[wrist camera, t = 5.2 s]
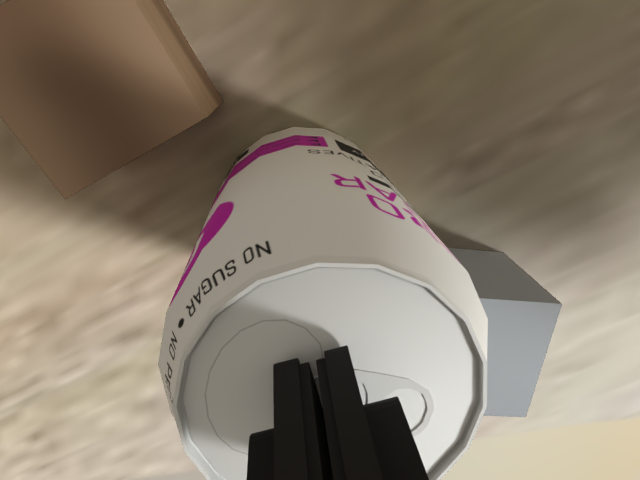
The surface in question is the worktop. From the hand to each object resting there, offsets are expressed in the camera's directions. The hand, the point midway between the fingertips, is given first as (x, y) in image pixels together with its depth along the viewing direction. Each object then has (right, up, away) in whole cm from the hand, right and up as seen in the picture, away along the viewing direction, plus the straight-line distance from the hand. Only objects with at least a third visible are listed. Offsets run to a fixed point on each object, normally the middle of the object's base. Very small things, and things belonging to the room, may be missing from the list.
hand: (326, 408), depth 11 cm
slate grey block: (+6, 0, +17) cm, 18 cm away
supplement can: (-1, +5, +14) cm, 15 cm away
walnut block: (-9, +11, +11) cm, 18 cm away
